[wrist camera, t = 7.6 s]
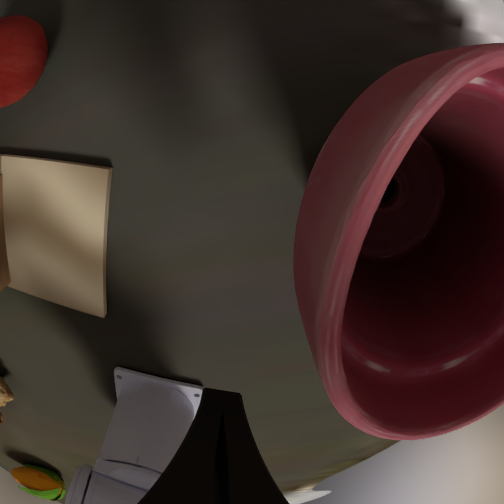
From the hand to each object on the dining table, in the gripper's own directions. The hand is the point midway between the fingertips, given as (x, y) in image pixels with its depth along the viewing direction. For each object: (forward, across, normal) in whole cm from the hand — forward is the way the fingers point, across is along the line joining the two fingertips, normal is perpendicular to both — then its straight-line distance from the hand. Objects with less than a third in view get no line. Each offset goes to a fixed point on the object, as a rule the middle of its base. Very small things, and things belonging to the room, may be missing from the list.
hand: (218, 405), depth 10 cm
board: (+10, +18, 0) cm, 21 cm away
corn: (+11, +31, +57) cm, 66 cm away
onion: (+11, +16, -12) cm, 23 cm away
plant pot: (+11, -8, -8) cm, 16 cm away
